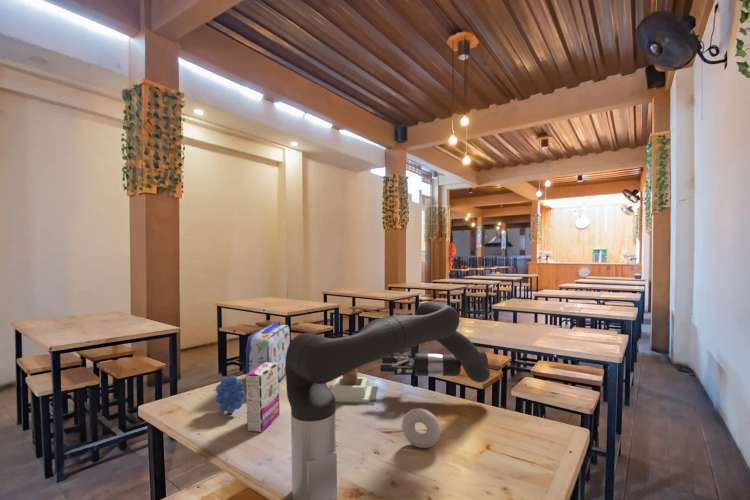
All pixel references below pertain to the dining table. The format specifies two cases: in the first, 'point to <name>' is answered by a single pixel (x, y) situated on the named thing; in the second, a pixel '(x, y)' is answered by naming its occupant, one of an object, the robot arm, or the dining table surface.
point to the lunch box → (268, 347)
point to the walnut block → (350, 378)
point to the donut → (428, 420)
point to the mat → (371, 402)
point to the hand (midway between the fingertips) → (381, 363)
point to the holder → (352, 391)
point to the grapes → (230, 394)
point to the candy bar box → (262, 396)
